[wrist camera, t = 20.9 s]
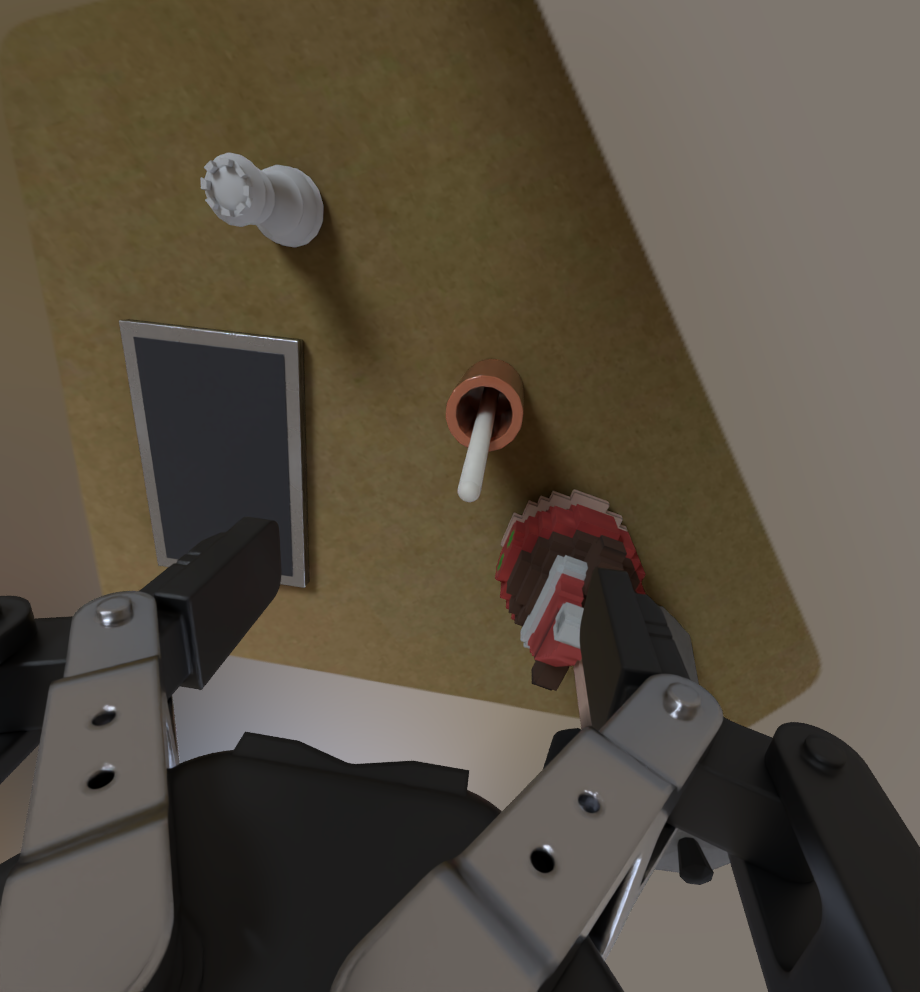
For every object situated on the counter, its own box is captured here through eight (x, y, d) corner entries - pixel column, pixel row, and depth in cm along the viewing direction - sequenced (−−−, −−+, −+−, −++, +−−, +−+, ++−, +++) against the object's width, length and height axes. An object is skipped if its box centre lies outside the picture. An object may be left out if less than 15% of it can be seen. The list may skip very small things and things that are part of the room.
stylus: (484, 379, 34) (457, 485, 24) (501, 381, 34) (480, 489, 24) (483, 394, 35) (455, 504, 24) (499, 396, 35) (478, 508, 24)
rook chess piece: (317, 258, 33) (259, 251, 26) (253, 232, 33) (176, 218, 26) (334, 183, 32) (276, 154, 24) (266, 156, 32) (187, 118, 24)
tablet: (128, 319, 37) (117, 320, 36) (303, 339, 36) (297, 341, 35) (165, 559, 44) (157, 566, 43) (309, 581, 44) (304, 588, 42)
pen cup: (463, 355, 35) (449, 371, 28) (528, 362, 34) (528, 380, 28) (457, 418, 36) (442, 446, 30) (518, 425, 36) (517, 456, 30)
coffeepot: (701, 578, 39) (830, 795, 23) (725, 672, 42) (854, 924, 26) (510, 625, 43) (501, 840, 26) (545, 708, 46) (556, 948, 29)
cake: (591, 616, 42) (635, 836, 25) (484, 578, 41) (456, 774, 25) (653, 505, 37) (754, 682, 21) (533, 462, 37) (539, 605, 21)
